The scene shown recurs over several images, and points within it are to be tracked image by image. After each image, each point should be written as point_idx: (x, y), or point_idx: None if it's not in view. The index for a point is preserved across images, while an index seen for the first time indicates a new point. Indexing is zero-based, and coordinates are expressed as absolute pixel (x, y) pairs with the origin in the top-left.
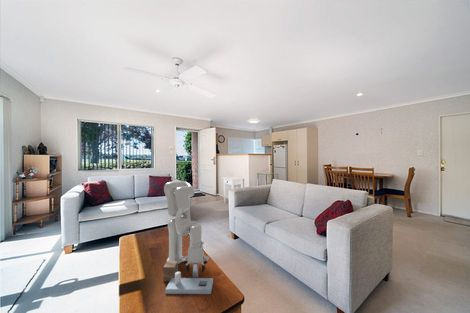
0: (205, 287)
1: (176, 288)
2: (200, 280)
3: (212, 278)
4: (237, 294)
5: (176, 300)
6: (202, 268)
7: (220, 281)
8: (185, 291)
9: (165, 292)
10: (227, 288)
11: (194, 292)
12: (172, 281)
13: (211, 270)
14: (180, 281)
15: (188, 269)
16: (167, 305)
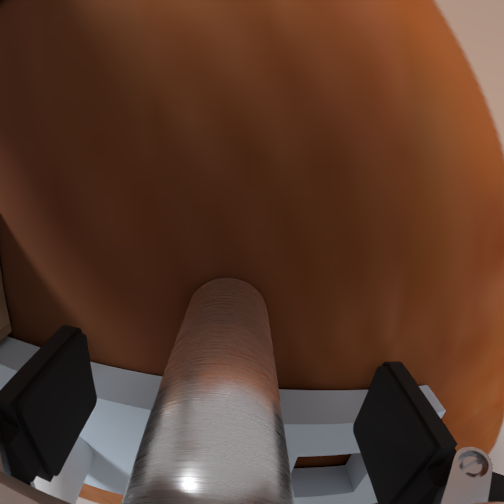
0: (345, 498)
1: (93, 482)
2: (308, 452)
3: (439, 415)
4: (494, 441)
5: None
6: (374, 478)
7: (481, 361)
8: None
9: None
10: (482, 418)
11: None
12: None
13: (451, 153)
14: (87, 470)
15: (80, 413)
16: (105, 499)
